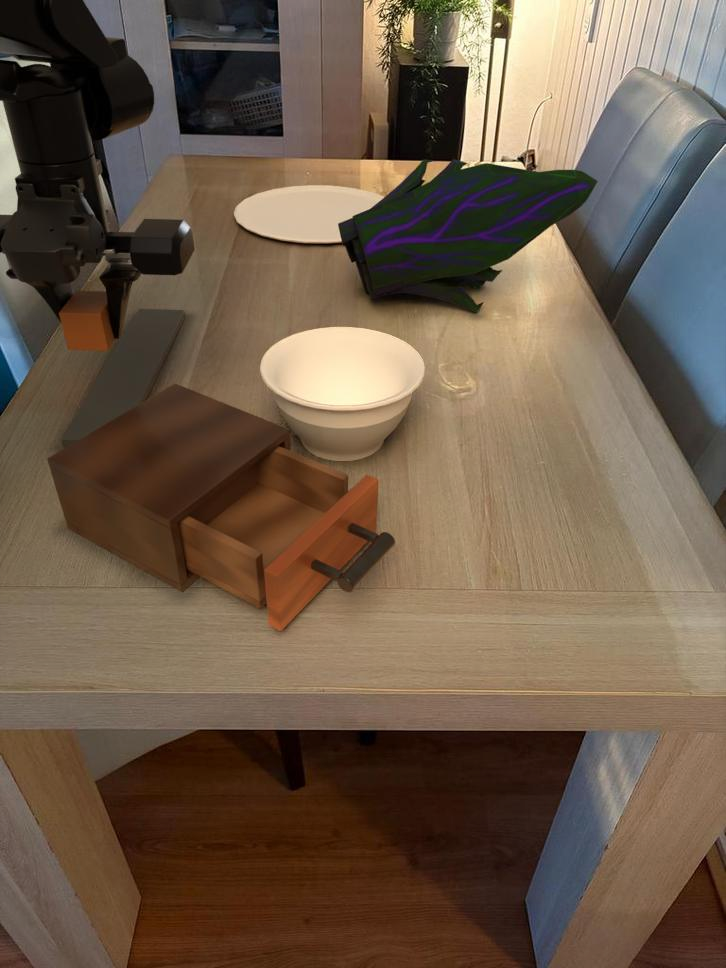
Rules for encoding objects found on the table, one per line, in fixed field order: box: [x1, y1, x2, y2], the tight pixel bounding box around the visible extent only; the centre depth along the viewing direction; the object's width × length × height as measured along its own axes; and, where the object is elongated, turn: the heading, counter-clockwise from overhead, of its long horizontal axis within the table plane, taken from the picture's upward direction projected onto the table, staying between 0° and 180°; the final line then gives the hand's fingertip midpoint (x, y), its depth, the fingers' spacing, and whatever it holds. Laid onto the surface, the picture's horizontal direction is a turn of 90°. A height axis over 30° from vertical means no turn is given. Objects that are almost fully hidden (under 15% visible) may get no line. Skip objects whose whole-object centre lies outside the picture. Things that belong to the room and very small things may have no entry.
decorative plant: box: [338, 158, 598, 314], centre depth 99 cm, size 21×26×30 cm
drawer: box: [178, 446, 396, 632], centre depth 60 cm, size 16×13×6 cm
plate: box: [233, 184, 385, 245], centre depth 129 cm, size 29×29×1 cm
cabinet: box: [46, 383, 292, 593], centre depth 65 cm, size 14×15×8 cm
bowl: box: [259, 326, 426, 462], centre depth 74 cm, size 16×16×8 cm
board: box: [61, 308, 186, 448], centre depth 86 cm, size 30×6×1 cm, turn 179°
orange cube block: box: [59, 290, 116, 352], centre depth 66 cm, size 5×4×4 cm
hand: (96, 336), depth 68 cm, fingers closed on orange cube block, 3 cm apart
